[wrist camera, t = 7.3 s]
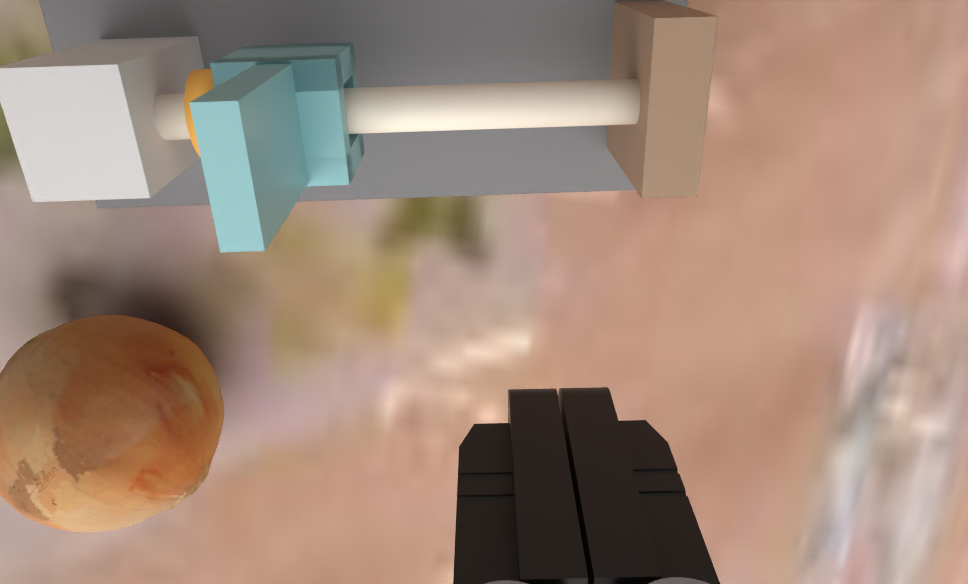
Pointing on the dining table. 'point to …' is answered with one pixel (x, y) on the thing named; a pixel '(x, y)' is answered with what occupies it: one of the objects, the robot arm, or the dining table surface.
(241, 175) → the light blue bracket block
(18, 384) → the onion
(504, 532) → the robot arm
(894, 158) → the dining table surface
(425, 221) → the dining table surface
